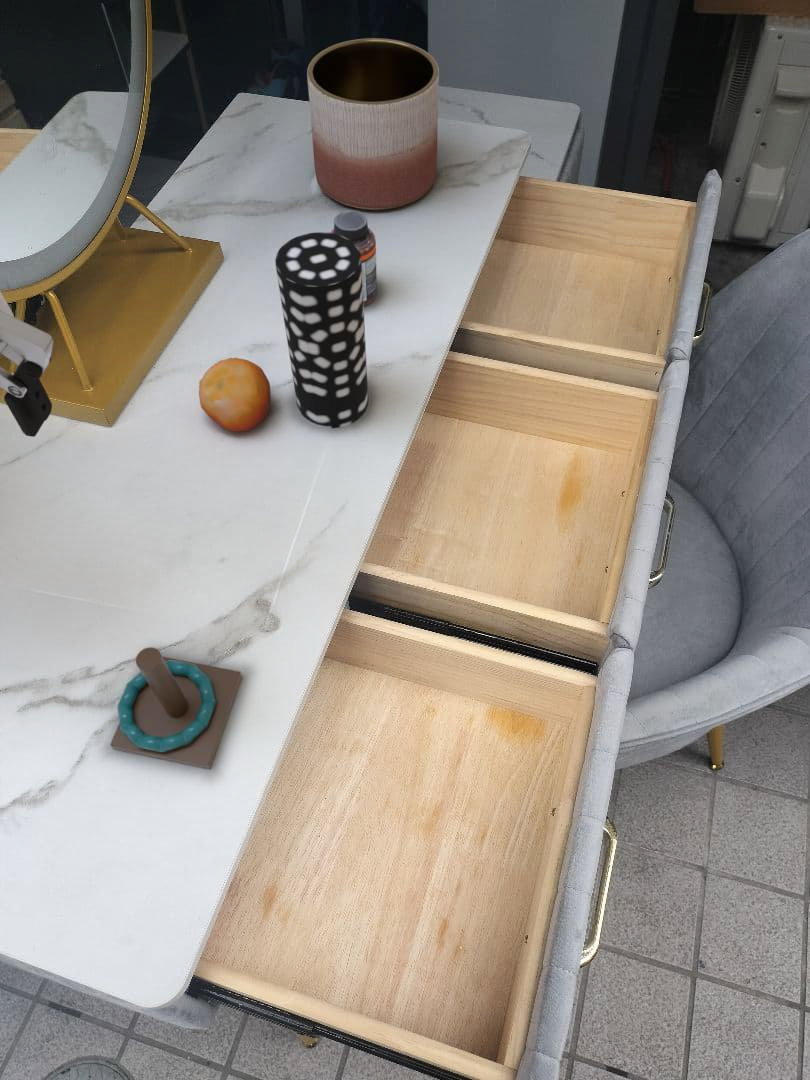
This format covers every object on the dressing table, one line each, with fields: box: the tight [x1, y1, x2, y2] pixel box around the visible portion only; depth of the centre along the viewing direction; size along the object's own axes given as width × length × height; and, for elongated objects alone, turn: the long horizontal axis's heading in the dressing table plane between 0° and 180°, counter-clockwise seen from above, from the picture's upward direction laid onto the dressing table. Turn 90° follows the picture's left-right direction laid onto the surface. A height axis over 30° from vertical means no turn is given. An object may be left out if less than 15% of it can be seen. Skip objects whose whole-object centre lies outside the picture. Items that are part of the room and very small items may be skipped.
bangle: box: [116, 660, 216, 752], centre depth 73 cm, size 8×8×1 cm
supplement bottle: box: [329, 209, 378, 308], centre depth 102 cm, size 6×6×11 cm
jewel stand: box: [110, 647, 243, 770], centre depth 69 cm, size 9×9×11 cm
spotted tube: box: [274, 231, 369, 429], centre depth 87 cm, size 8×8×20 cm
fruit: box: [198, 357, 271, 432], centre depth 92 cm, size 8×8×8 cm
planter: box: [306, 37, 440, 211], centre depth 114 cm, size 18×18×16 cm
